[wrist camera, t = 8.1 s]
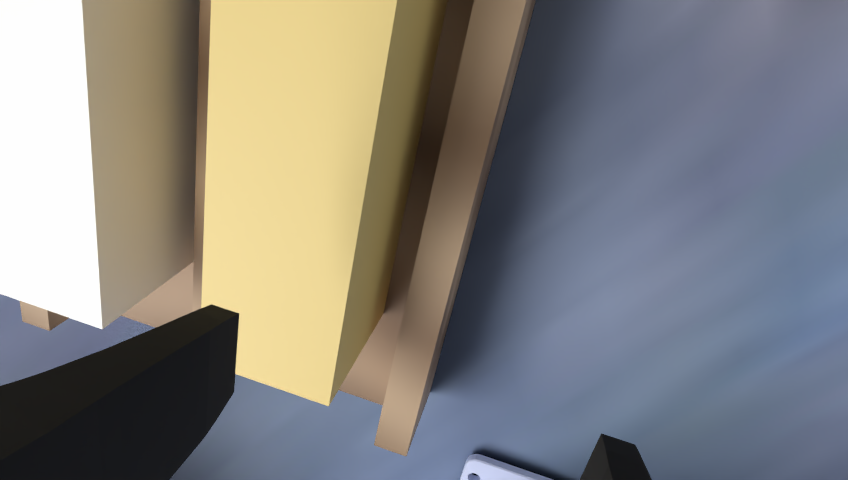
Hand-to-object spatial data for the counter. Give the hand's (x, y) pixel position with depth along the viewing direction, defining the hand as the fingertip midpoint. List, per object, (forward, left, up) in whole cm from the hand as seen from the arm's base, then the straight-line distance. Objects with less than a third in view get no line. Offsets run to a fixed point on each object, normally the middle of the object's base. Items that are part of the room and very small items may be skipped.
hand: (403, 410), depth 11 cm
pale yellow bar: (+3, +4, -8) cm, 10 cm away
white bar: (+3, +12, -8) cm, 15 cm away
